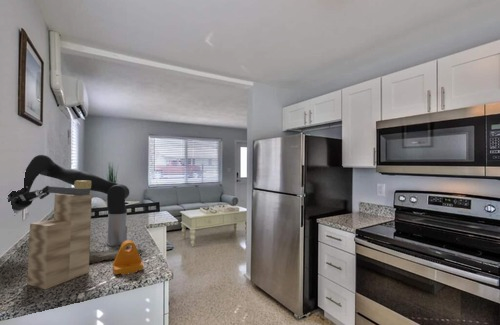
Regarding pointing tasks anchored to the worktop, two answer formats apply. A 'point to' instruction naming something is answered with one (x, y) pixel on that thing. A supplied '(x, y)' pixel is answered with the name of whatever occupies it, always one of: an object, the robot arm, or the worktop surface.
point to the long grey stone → (104, 255)
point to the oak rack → (60, 242)
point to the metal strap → (73, 188)
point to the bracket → (127, 259)
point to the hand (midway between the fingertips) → (38, 187)
